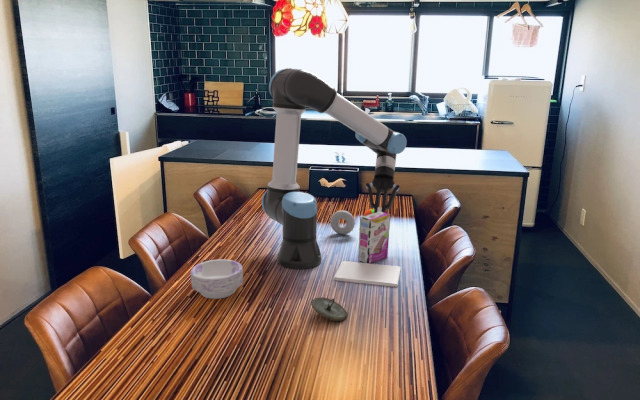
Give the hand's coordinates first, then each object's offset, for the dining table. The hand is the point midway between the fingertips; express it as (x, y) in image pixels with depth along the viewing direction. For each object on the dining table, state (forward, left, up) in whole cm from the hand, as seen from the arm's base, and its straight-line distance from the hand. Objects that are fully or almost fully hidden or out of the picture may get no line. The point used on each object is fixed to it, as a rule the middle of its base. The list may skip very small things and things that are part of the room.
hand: (378, 224), depth 185 cm
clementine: (+19, +23, -10) cm, 31 cm away
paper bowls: (-63, +2, -10) cm, 64 cm away
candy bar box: (-7, -6, -10) cm, 14 cm away
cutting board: (-18, -15, -10) cm, 25 cm away
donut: (+1, +21, -10) cm, 23 cm away
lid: (-45, -29, -10) cm, 54 cm away
